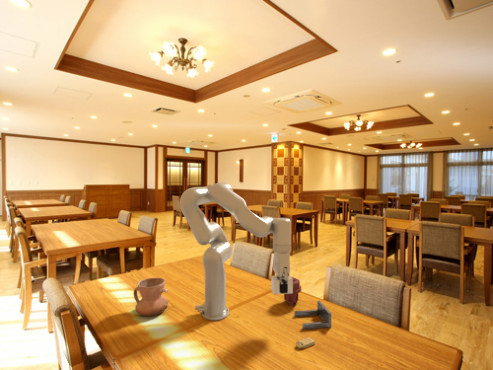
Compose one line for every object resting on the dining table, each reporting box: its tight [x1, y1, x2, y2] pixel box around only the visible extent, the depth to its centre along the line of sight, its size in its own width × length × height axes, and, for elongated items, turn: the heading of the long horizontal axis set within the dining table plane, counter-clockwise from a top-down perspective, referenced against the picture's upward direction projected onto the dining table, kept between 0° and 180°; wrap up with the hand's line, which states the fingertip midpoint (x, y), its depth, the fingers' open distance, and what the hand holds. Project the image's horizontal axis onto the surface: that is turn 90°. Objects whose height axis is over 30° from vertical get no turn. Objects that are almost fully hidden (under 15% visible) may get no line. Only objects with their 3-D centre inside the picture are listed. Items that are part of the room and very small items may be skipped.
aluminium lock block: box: [270, 274, 294, 295], centre depth 113 cm, size 9×5×6 cm, turn 98°
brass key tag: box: [295, 336, 316, 350], centre depth 100 cm, size 7×3×1 cm, turn 119°
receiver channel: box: [293, 300, 332, 331], centre depth 116 cm, size 12×11×6 cm
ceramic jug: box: [133, 277, 169, 317], centre depth 125 cm, size 18×14×14 cm
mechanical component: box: [283, 276, 302, 306], centre depth 133 cm, size 12×10×10 cm
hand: (281, 289), depth 113 cm, fingers closed on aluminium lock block, 5 cm apart
